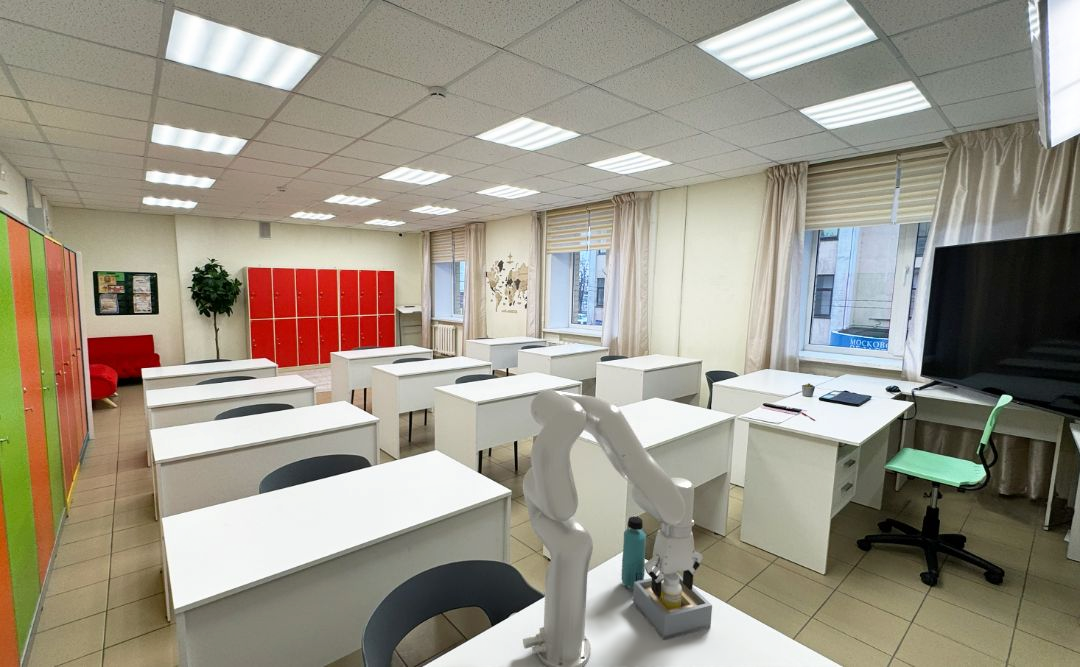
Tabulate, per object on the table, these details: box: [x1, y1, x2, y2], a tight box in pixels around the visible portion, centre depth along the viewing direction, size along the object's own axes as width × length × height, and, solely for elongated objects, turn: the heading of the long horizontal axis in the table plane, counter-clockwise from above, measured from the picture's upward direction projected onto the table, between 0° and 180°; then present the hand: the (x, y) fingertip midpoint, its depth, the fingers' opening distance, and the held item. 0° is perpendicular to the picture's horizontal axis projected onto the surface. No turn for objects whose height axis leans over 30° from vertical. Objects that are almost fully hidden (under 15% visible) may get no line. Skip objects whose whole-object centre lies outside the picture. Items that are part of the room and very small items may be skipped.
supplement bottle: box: [660, 572, 682, 610], centre depth 120 cm, size 5×5×10 cm
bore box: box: [632, 572, 713, 641], centre depth 120 cm, size 14×14×6 cm
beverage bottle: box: [620, 516, 647, 589], centre depth 131 cm, size 6×7×20 cm
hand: (671, 590), depth 120 cm, fingers open, 9 cm apart
